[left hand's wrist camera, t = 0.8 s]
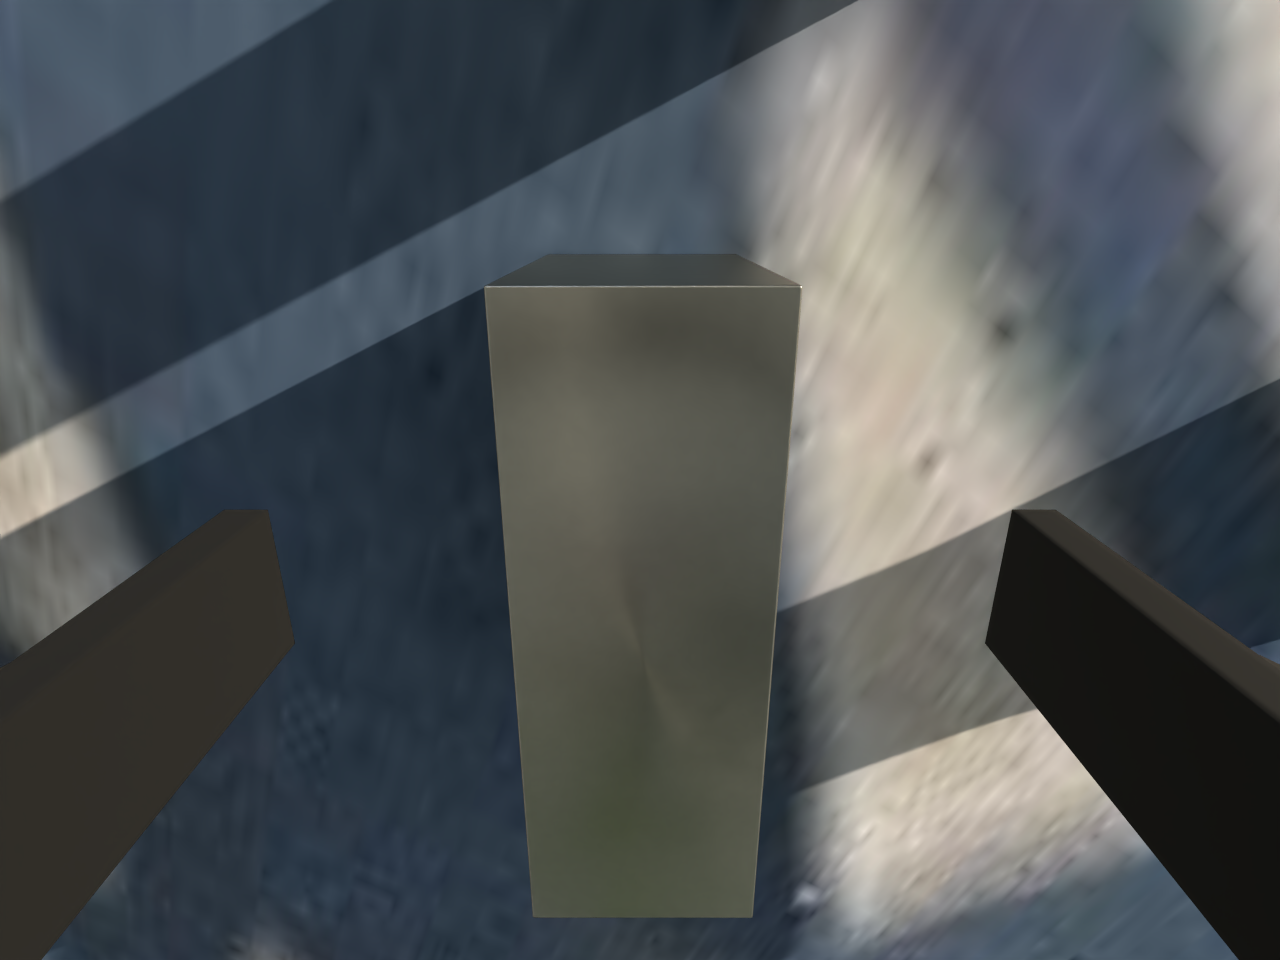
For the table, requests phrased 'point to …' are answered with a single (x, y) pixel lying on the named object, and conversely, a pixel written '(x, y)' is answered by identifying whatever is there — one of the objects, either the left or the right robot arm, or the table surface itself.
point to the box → (642, 568)
